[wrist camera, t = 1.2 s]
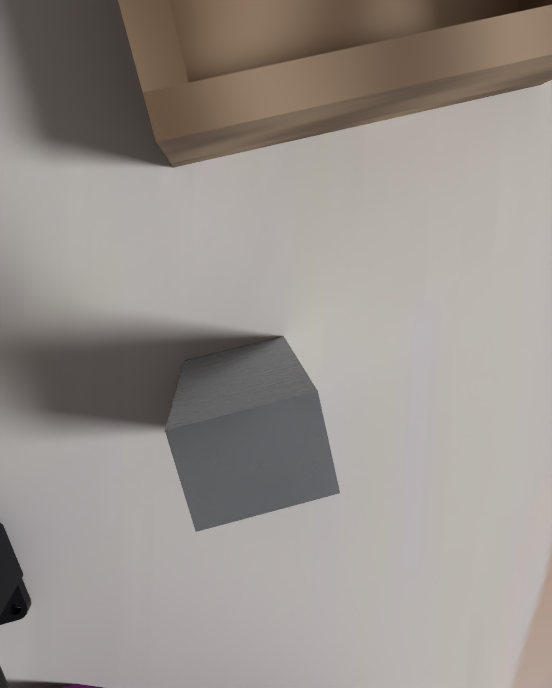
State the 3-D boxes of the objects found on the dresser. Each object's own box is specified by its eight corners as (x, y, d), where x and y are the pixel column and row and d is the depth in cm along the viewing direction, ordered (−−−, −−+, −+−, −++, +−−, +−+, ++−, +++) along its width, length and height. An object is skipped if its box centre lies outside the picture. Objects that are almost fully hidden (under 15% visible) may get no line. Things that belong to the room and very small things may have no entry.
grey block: (225, 505, 21) (227, 637, 14) (184, 360, 19) (165, 430, 12) (316, 480, 21) (362, 599, 14) (283, 336, 19) (317, 391, 13)
